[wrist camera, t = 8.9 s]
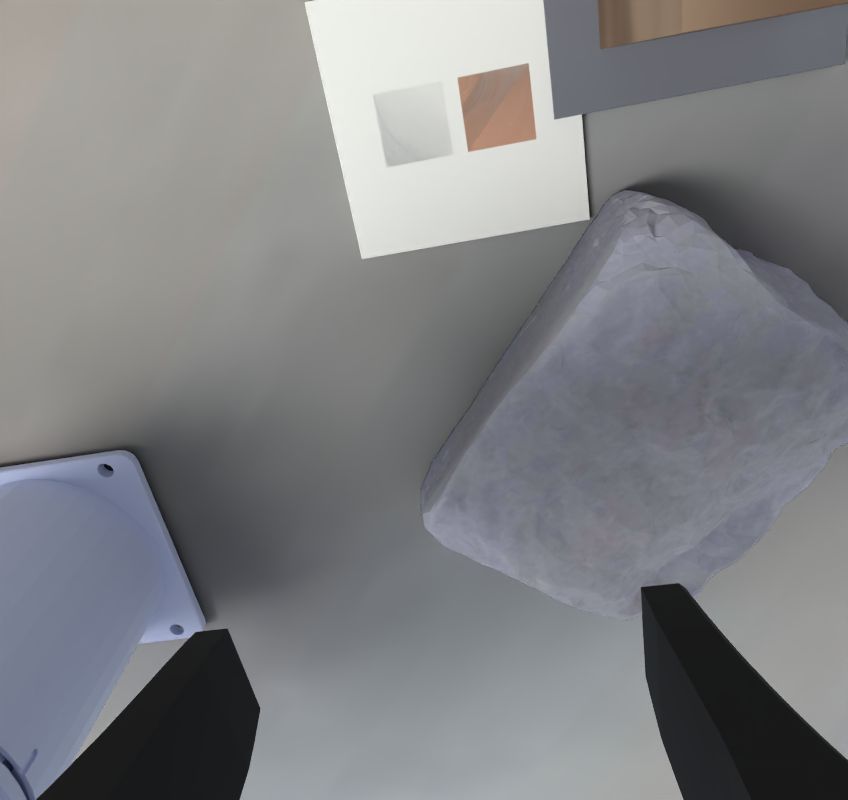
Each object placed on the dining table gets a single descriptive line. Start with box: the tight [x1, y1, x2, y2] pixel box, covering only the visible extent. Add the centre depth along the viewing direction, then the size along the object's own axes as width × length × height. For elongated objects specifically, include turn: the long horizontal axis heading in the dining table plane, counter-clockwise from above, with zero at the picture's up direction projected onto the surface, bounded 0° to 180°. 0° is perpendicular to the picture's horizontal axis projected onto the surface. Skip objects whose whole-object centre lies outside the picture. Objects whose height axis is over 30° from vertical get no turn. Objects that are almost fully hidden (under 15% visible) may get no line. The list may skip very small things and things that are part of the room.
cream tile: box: [305, 0, 590, 259], centre depth 17 cm, size 6×6×1 cm
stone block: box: [421, 190, 848, 620], centre depth 20 cm, size 12×5×10 cm
